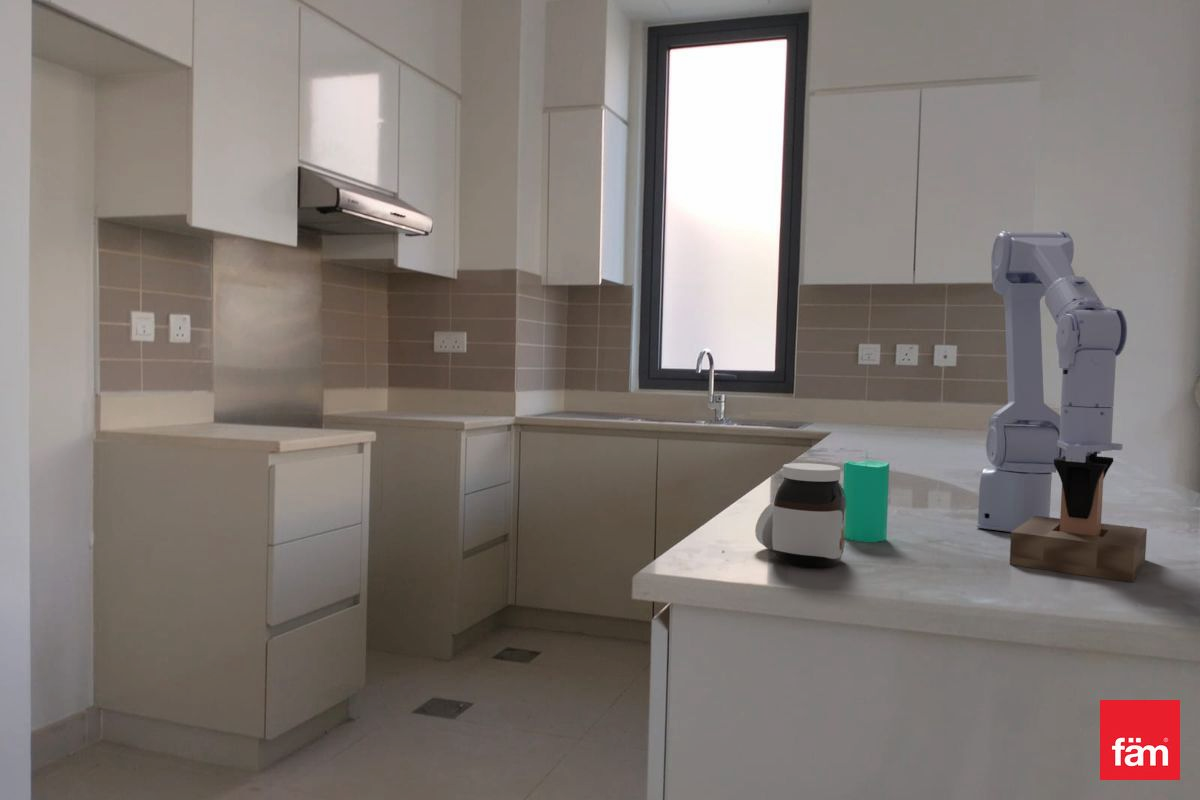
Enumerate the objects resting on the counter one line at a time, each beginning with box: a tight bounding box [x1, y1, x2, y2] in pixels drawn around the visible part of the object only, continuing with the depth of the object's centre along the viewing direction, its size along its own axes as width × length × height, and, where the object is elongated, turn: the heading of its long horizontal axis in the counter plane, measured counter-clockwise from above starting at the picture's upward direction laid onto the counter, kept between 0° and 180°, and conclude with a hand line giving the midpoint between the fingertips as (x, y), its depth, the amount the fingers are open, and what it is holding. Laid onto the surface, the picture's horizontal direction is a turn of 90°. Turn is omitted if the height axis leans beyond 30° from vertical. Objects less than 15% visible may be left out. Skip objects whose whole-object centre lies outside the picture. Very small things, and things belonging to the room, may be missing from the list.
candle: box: [842, 451, 890, 543], centre depth 122 cm, size 6×6×12 cm
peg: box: [1059, 471, 1105, 536], centre depth 110 cm, size 4×4×8 cm
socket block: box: [1009, 516, 1148, 583], centre depth 110 cm, size 13×15×4 cm
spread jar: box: [754, 462, 846, 569], centre depth 109 cm, size 12×11×12 cm
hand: (1081, 515), depth 110 cm, fingers closed on peg, 4 cm apart
